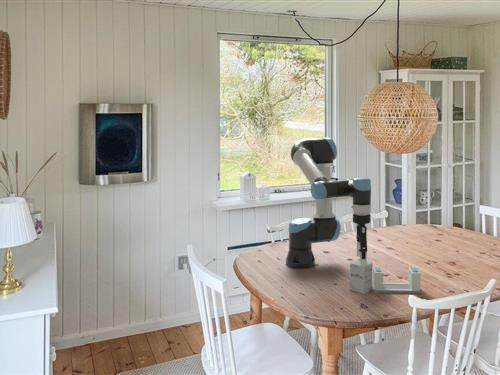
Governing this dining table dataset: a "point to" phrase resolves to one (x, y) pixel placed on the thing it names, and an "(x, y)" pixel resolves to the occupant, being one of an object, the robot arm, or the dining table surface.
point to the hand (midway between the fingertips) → (361, 261)
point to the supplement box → (360, 277)
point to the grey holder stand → (409, 287)
